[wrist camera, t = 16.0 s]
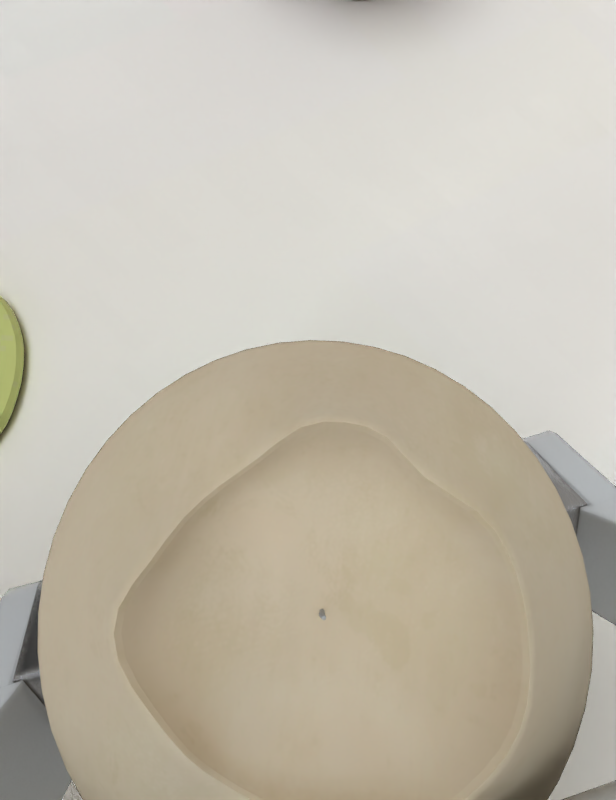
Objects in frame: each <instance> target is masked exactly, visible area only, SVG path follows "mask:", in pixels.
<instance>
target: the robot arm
mask: <svg viewBox="0 0 616 800" xmlns="http://www.w3.org/2000/svg"><path fill="white" fill-rule="evenodd" d="M522 440H523V441H524V442H525V444H526V445H527V446H528V447H529V449H530V450H531V451H532V452H533V454H534V455H535V456H536V457H537V459H538V460H539V462H540V463H541V465H542V467H543V468H544V470H545V472H546V473H547V475H548V476H549V478H550V480H551V481H552V483H553V484H554V486H555V488H556V489H557V492H558V494H559V496H560V498H561V500H562V502H563V504H564V507H565V509H566V511H567V513H568V515H569V517H570V519H571V522H572V525H573V528H574V531H575V534H576V537H577V540H578V543H579V546H580V549H581V552H582V555H583V559H584V564H585V569H586V574H587V579H588V584H589V589H590V596H591V608H592V611H593V612H594V613H596V614H598V615H599V616H601V617H603V618H604V619H606V620H608V621H609V622H611V623H613V624H614V625H616V487H615V486H614V485H613V484H612V483H611V482H610V481H609V480H608V479H606V478H605V477H604V476H603V475H602V474H601V473H600V472H599V471H598V470H596V469H595V468H594V467H593V466H592V465H591V464H590V463H589V462H588V461H586V460H585V459H584V458H583V457H582V456H581V455H580V454H579V453H578V452H576V451H575V450H574V449H573V448H572V447H571V446H570V445H569V444H568V443H567V442H565V441H564V440H563V439H562V438H561V437H560V436H559V435H558V434H556V433H554V432H551V431H546V432H543V433H540V434H536V435H533V436H530V437H527V438H523V439H522ZM42 582H43V580H42V581H38V582H34V583H30V584H27V585H23V586H19V587H15V588H11V589H9V590H8V591H7V592H6V593H5V594H4V596H3V597H2V598H1V601H0V800H62V798H63V796H64V794H65V792H66V790H67V788H68V786H69V784H70V782H71V781H72V779H71V777H70V775H69V773H68V771H67V770H66V767H65V765H64V762H63V760H62V757H61V754H60V752H59V749H58V747H57V744H56V741H55V739H54V736H53V734H52V731H51V727H50V723H49V719H48V715H47V710H46V706H45V702H44V698H43V694H42V688H41V679H40V669H39V660H38V610H39V603H40V596H41V589H42ZM562 800H616V780H615V781H612V782H610V783H607V784H604V785H601V786H598V787H596V788H593V789H590V790H587V791H585V792H582V793H579V794H576V795H573V796H571V797H568V798H565V799H562Z"/></svg>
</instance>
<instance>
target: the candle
mask: <svg viewBox="0 0 616 800" xmlns="http://www.w3.org/2000/svg"><path fill="white" fill-rule="evenodd" d="M592 651H593V621H592V608H591V596H590V589H589V584H588V579H587V574H586V569H585V564H584V559H583V555H582V552H581V549H580V546H579V543H578V540H577V537H576V534H575V531H574V528H573V525H572V522H571V519H570V517H569V515H568V513H567V511H566V509H565V507H564V504H563V502H562V500H561V498H560V496H559V494H558V492H557V489H556V488H555V486H554V484H553V483H552V481H551V480H550V478H549V476H548V475H547V473H546V472H545V470H544V468H543V467H542V465H541V463H540V462H539V460H538V459H537V457H536V456H535V455H534V454H533V452H532V451H531V450H530V449H529V447H528V446H527V445H526V444H525V442H524V441H523V440H522V439H521V437H520V436H519V435H518V434H517V432H516V431H515V430H514V429H513V428H512V427H511V426H510V425H509V424H508V423H507V422H506V421H505V420H504V419H503V418H502V417H501V416H500V415H499V414H498V413H497V412H496V411H495V410H494V409H493V408H492V407H490V406H489V405H488V404H486V403H485V402H484V401H483V400H481V399H480V398H479V397H477V396H476V395H475V394H474V393H472V392H471V391H470V390H468V389H467V388H466V387H464V386H463V385H461V384H459V383H458V382H456V381H454V380H453V379H451V378H449V377H448V376H446V375H444V374H443V373H441V372H439V371H437V370H436V369H433V368H431V367H429V366H427V365H424V364H422V363H420V362H418V361H415V360H413V359H411V358H408V357H406V356H403V355H400V354H396V353H393V352H390V351H386V350H383V349H380V348H376V347H371V346H365V345H360V344H354V343H348V342H339V341H316V340H308V341H295V342H283V343H275V344H270V345H266V346H261V347H256V348H251V349H246V350H243V351H241V352H238V353H235V354H232V355H229V356H226V357H223V358H220V359H217V360H215V361H212V362H210V363H208V364H206V365H204V366H202V367H200V368H198V369H196V370H194V371H192V372H190V373H188V374H186V375H184V376H183V377H181V378H179V379H178V380H176V381H175V382H173V383H172V384H170V385H169V386H167V387H166V388H164V389H163V390H161V391H159V392H158V393H157V394H155V395H154V396H153V397H152V398H151V399H149V400H148V401H147V402H146V403H145V404H143V405H142V406H141V407H140V408H139V409H137V410H136V411H135V412H134V413H133V414H131V415H130V416H129V418H128V419H127V420H126V421H125V422H124V423H123V424H122V425H121V426H120V427H119V428H118V429H117V430H116V431H115V433H114V434H113V435H112V436H111V437H110V438H109V439H108V440H107V441H106V443H105V444H104V445H103V447H102V448H101V449H100V451H99V452H98V454H97V455H96V456H95V458H94V459H93V460H92V462H91V463H90V465H89V466H88V467H87V469H86V470H85V472H84V474H83V476H82V477H81V479H80V481H79V483H78V484H77V486H76V488H75V490H74V492H73V493H72V495H71V497H70V499H69V501H68V503H67V505H66V508H65V510H64V513H63V515H62V517H61V520H60V522H59V525H58V527H57V530H56V532H55V535H54V537H53V541H52V545H51V549H50V552H49V556H48V560H47V563H46V567H45V571H44V575H43V582H42V589H41V596H40V603H39V610H38V660H39V669H40V679H41V688H42V694H43V698H44V702H45V706H46V710H47V715H48V719H49V723H50V727H51V731H52V734H53V736H54V739H55V741H56V744H57V747H58V749H59V752H60V754H61V757H62V760H63V762H64V765H65V767H66V770H67V771H68V773H69V775H70V777H71V779H72V781H73V782H74V784H75V786H76V788H77V790H78V792H79V793H80V795H81V797H82V799H83V800H547V799H548V798H549V796H550V794H551V793H552V791H553V790H554V788H555V786H556V785H557V783H558V781H559V779H560V776H561V774H562V772H563V770H564V767H565V765H566V763H567V761H568V759H569V756H570V754H571V752H572V750H573V747H574V744H575V741H576V738H577V734H578V731H579V728H580V724H581V721H582V718H583V714H584V711H585V707H586V701H587V695H588V689H589V683H590V677H591V671H592Z"/></svg>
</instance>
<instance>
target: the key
mask: <svg viewBox="0 0 616 800" xmlns="http://www.w3.org/2000/svg"><path fill="white" fill-rule="evenodd" d="M23 366H24V344H23V337H22V334H21V330H20V327H19V324H18V321H17V319H16V317H15V315H14V312H13V311H12V309H11V308H10V306H9V305H8V303H7V302H6V301H5V300H4V299H3V298H2V297H0V434H1V433H2V431H3V429H4V428H5V426H6V425H7V423H8V421H9V419H10V416H11V414H12V412H13V409H14V406H15V403H16V400H17V397H18V393H19V390H20V386H21V382H22V374H23Z"/></svg>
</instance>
